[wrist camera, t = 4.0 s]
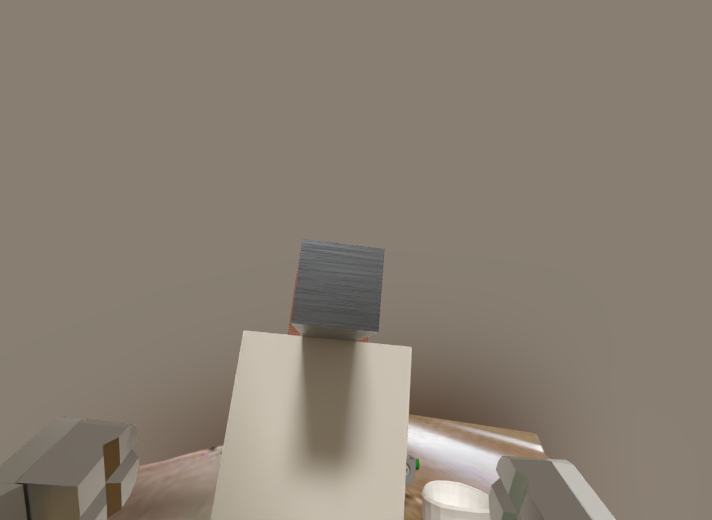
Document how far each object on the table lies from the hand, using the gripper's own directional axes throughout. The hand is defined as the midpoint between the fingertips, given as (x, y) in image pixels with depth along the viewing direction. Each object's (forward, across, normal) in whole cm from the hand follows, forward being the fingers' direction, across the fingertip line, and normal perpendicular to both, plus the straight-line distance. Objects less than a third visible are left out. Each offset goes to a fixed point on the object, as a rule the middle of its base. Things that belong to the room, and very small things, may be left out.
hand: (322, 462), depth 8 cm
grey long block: (+13, 0, +4) cm, 13 cm away
